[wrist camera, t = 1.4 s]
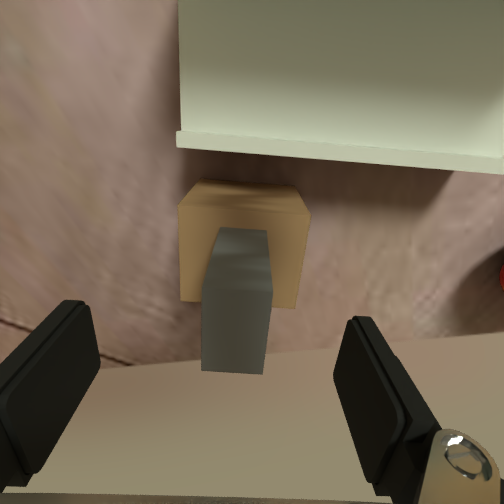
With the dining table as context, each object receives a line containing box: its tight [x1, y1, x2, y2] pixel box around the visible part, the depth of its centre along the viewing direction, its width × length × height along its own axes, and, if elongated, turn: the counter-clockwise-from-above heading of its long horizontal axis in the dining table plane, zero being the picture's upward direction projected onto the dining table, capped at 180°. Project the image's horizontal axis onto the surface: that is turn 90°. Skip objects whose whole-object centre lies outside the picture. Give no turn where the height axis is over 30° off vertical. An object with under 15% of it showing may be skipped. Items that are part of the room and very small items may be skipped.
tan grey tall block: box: [177, 178, 311, 374], centre depth 17 cm, size 7×6×13 cm
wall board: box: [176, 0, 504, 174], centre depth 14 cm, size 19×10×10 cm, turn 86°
